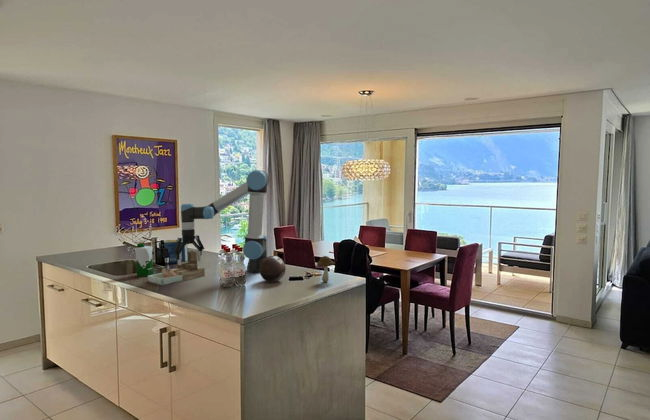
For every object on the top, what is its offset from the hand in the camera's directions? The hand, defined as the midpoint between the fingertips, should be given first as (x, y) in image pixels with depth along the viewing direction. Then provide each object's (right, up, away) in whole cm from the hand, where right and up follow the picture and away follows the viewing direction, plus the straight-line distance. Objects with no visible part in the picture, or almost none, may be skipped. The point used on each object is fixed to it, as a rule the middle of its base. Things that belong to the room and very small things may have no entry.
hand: (189, 262), depth 258 cm
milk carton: (-30, -9, +5) cm, 31 cm away
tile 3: (-12, -5, -7) cm, 14 cm away
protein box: (-25, -5, +47) cm, 54 cm away
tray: (-11, -9, -12) cm, 18 cm away
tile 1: (-6, -5, -12) cm, 15 cm away
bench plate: (-1, -8, -1) cm, 8 cm away
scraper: (0, -3, 0) cm, 3 cm away
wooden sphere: (+54, -9, -17) cm, 57 cm away
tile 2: (-9, -7, -10) cm, 15 cm away
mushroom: (+84, -8, -20) cm, 87 cm away
